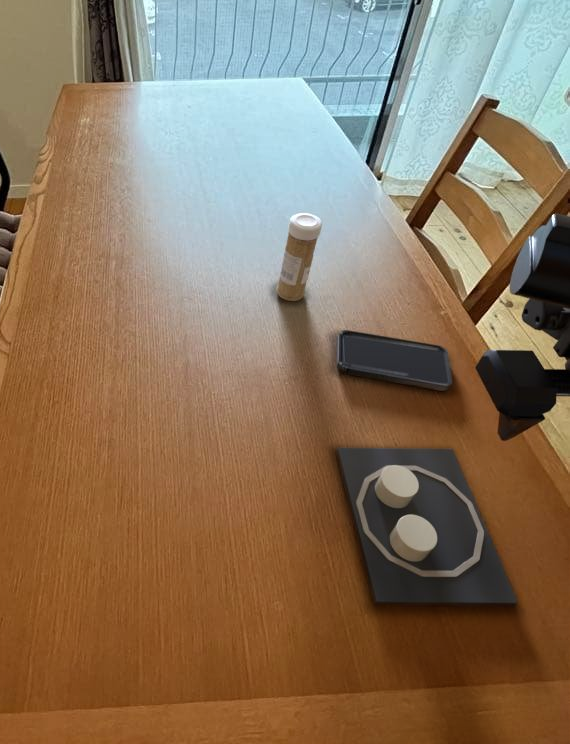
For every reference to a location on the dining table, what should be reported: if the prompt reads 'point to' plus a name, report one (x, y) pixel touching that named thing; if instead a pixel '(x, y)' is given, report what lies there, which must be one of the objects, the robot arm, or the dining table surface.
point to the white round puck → (396, 486)
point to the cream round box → (413, 538)
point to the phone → (393, 360)
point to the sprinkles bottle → (298, 255)
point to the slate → (447, 516)
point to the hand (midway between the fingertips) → (547, 437)
